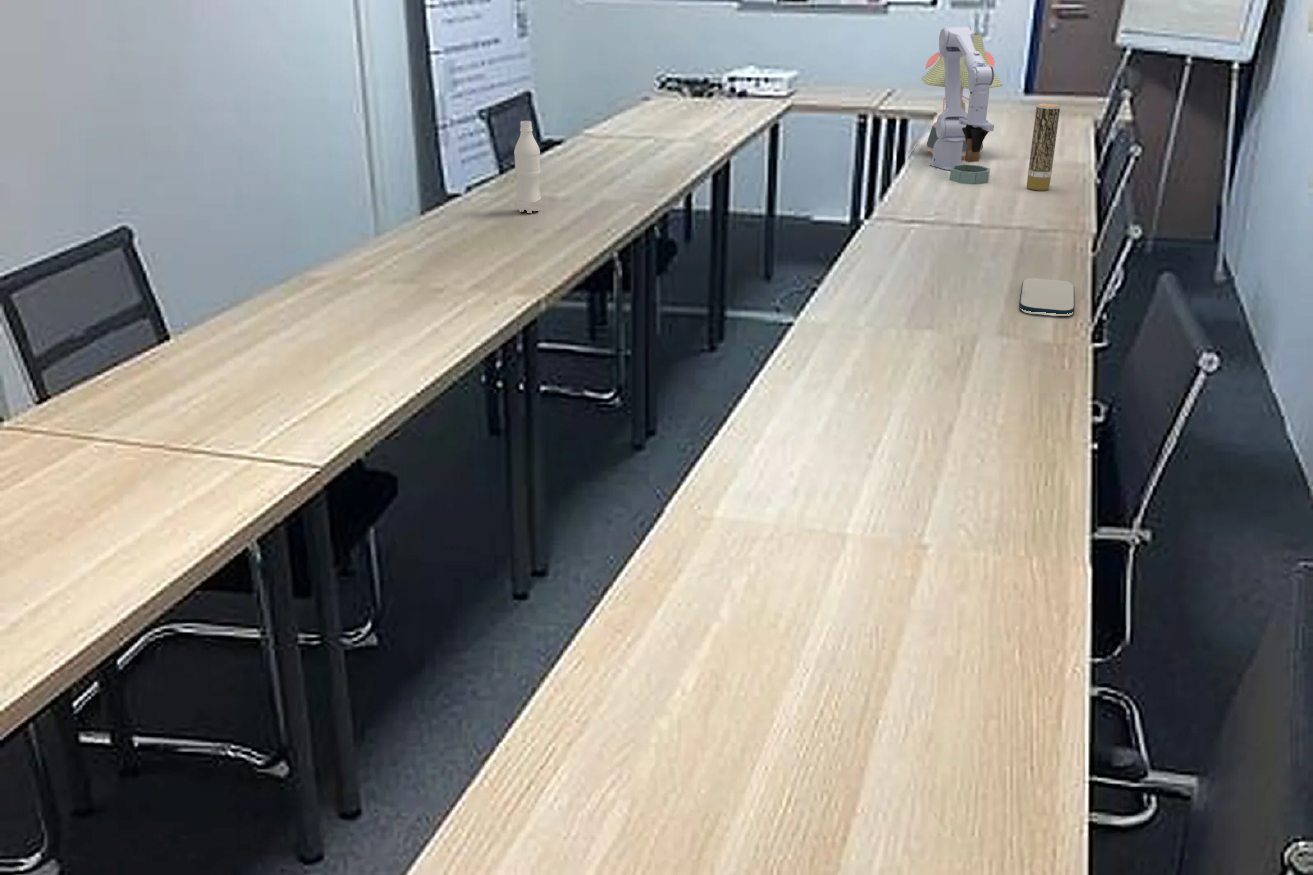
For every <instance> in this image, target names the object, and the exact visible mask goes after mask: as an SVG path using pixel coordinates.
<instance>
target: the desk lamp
mask: <svg viewBox="0 0 1313 875" xmlns="http://www.w3.org/2000/svg"><path fill="white" fill-rule="evenodd" d="M974 35H975V36H974V42H973V44H974V47H975V50H976V51H979V52H980V53H981V55H982V57H983V59H984V61H985V63H986V65H989V66H990V64H989V62H988V59H987V56H986V53H985V51H986V50H985V46H984V42H983V36H982V33H979V32H974ZM964 58H965V57H964V56H962V57H961V58H960V88H961V109H962V110H964V111H965V112H966V113H967V111H966V102H965V101H964V100H963V97H962V95H963V94H964V93H963V92H964V89H968V90H969V81H968V75H969V73H968V71H967V69H966V67H965V64H964ZM920 79H921V81H922V83H923V84H926V85H928V86H932V87H933V86H934V87H939V88H940V87H943V88H945V67H944V57H943V56H941V57H938V59H937V60H936V62H935V63H934V64H933V65H932V67H931V68H929V70H928V71H927V72H926V73H925V74H924V75H923V76H922V77H921V78H920ZM1003 86H1004V84H1003V82H1002V81H1001V80H1000V78H999V77H998V75H997V74H996V73H995V72H994V81H993V83H992V85H990V88H999V87H1003ZM990 88H989V89H990ZM963 96H964V95H963ZM945 120H946V119H945ZM936 126H937V121H936V122H934V123H933V125H931V127H930V133H929V136H928V138H927V142H926V150H927V151H928V152H929V153H931V154H932V155H933V149H934V144H935V142H936V141H937V140H938V139H939V138H938V137H937V134H936ZM983 142H984V141H983ZM983 142H982V145H981V148H980V154H981V153H982V152H983V149H984V145H983V144H984V143H983ZM966 145H967V144H966V139H965V141H963V148H962V158H961V160H965V154H966Z"/></svg>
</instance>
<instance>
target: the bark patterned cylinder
mask: <svg viewBox="0 0 1313 875" xmlns="http://www.w3.org/2000/svg"><path fill="white" fill-rule="evenodd" d="M1060 112H1061V105H1060V104H1056V103H1055V104H1054V103H1037V104H1036V108H1035V117H1034V122H1033V131H1032V138H1031V146H1030V147H1031V148H1030V155H1029V162H1028V163H1029V164H1028V170H1027V179H1026V188H1027V189H1028V190H1031V191H1041V192H1043V191H1047V190H1049V189H1050V187H1051V186H1050V185H1051V180H1052V179H1051V178H1052V172H1053V164H1054V159H1055V158H1054V157H1055V156H1054V155H1055V151H1056V150H1055V148H1056V142H1057V135H1058V134H1057V133H1058V126H1059V119H1060Z"/></svg>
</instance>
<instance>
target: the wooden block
mask: <svg viewBox="0 0 1313 875" xmlns="http://www.w3.org/2000/svg"><path fill="white" fill-rule="evenodd" d="M972 143H973V140H972V138H967V145H966V154H965V159H964V162H966V163H975V162H976V163H977V162H978V163H979V161H980V156H981V153H980V150H979V152H973V151H972ZM980 148H981V147H980Z"/></svg>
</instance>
